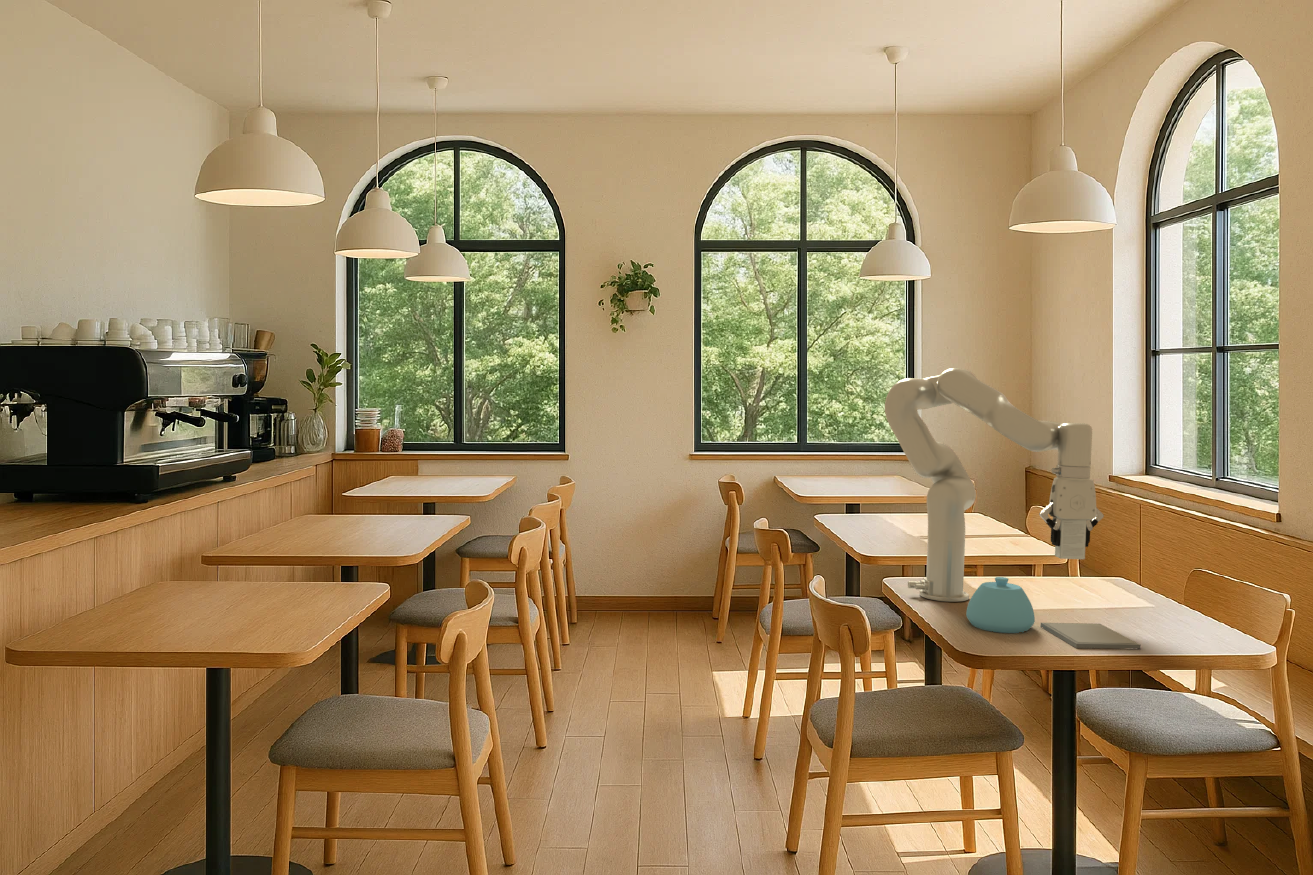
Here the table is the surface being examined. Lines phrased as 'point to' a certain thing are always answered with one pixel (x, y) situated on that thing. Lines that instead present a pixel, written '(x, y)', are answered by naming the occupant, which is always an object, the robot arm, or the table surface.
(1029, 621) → the sugar bowl
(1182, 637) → the table surface
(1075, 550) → the skincare box
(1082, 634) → the slate board
